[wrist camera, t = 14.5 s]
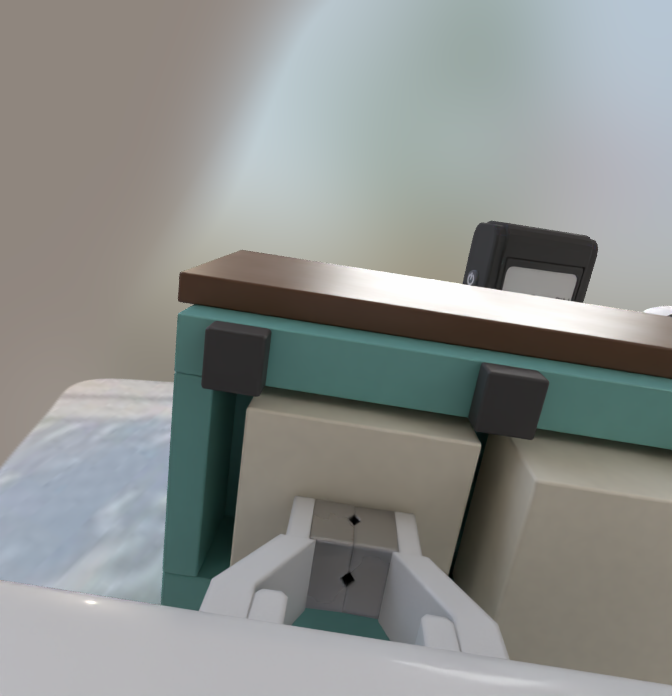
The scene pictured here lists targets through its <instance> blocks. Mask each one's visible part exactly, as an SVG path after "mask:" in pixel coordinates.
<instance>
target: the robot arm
mask: <svg viewBox="0 0 672 696" xmlns="http://www.w3.org/2000/svg"><path fill="white" fill-rule="evenodd" d="M314 505H315V506H314ZM313 511H314V513H313ZM312 518H313V519H312ZM311 525H312V526H311ZM305 608H310V609H318V610H326V611H334V612H342V613H347V614H353V615H358V616H363V617H369V618H374V619H378V622H379V623H380V625H381V627H382V628H383V630H384V631H385V633H386V635H387V636H388V638H389V640H390V641H387V640H380V639H374V638H368V637H361V636H355V635H349V634H342V633H336V632H329V631H323V630H317V629H310V628H304V627H298V626H291V625H292V624H293V623H294V621H295V620H296V619H297V618H298V617H299V616H300V615H301V614H302V613H303V612H304V610H305ZM0 696H672V685H667V684H661V683H655V682H648V681H642V680H636V679H629V678H623V677H617V676H610V675H604V674H598V673H591V672H585V671H578V670H572V669H566V668H559V667H553V666H546V665H540V664H534V663H527V662H521V661H515V660H510V659H509V656H508V653H507V650H506V647H505V644H504V641H503V638H502V635H501V632H500V629H499V626H498V624H497V623H496V622H495V621H494V620H493V619H492V618H491V617H490V616H489V615H488V614H487V613H486V612H485V611H484V610H483V609H482V608H481V607H480V606H479V605H478V604H477V603H475V602H474V601H473V600H472V599H471V598H470V597H469V596H468V595H467V594H466V593H465V592H464V591H463V590H462V589H461V588H460V587H459V586H458V585H457V584H456V583H455V582H454V581H453V580H452V579H451V578H449V577H448V576H447V575H446V574H445V573H444V572H443V571H442V570H441V569H440V568H439V567H438V566H437V565H436V564H435V563H434V562H433V561H432V560H431V559H430V558H429V557H425V556H422V550H421V545H420V540H419V535H418V529H417V524H416V519H415V515H414V514H413V513H405V512H396V511H387V510H379V509H372V508H364V507H356V506H354V505H348V504H343V503H337V502H331V501H326V500H320V499H316V501H315V499H314V498H309V497H302V496H295V498H294V501H293V506H292V510H291V514H290V519H289V523H288V528H287V532H286V535H284V534H280V535H278V536H276V537H275V538H273V539H272V540H270V541H269V542H267V543H266V544H264V545H263V546H261V547H260V548H258V549H257V550H255V551H254V552H252V553H251V554H249V555H248V556H246V557H244V558H243V559H241V560H240V561H238V562H237V563H235V564H234V565H232V566H231V567H229V568H228V569H226V570H225V571H223V572H222V573H220V574H219V575H217V576H215V577H214V578H212V580H211V582H210V585H209V587H208V590H207V592H206V595H205V597H204V600H203V602H202V604H201V607H200V609H199V611H196V610H189V609H183V608H176V607H170V606H164V605H157V604H151V603H145V602H138V601H132V600H125V599H119V598H113V597H106V596H100V595H94V594H87V593H81V592H74V591H68V590H62V589H55V588H49V587H43V586H36V585H30V584H23V583H17V582H11V581H4V580H0Z"/></svg>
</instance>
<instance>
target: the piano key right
mask: <svg viewBox="0 0 672 696" xmlns="http://www.w3.org/2000/svg"><path fill="white" fill-rule="evenodd" d="M452 574H453V578H454V582H455V583H456V584H457V585H458V586H459V587H460V588H461V589H462V590H463V591H464V592H465V593H466V594H467V595H468V596H469V597H470V598H471V599H472V600H473V601H474V602H475V603H477V604H478V605H479V606H480V607H481V608H482V609H483V610H484V611H485V612H486V613H487V614H488V615H489V616H490V617H491V618H492V619H493V620H494V621H495V622H496V623H497V624H498V626H499V629H500V632H501V635H502V638H503V641H504V644H505V647H506V650H507V653H508V656H509V659H510V660H515V661H521V662H527V663H534V664H540V665H546V666H553V667H559V668H566V669H572V670H578V671H585V672H591V673H598V674H604V675H610V676H617V677H623V678H629V679H636V680H642V681H648V682H655V683H661V684H667V685H672V450H671V449H664V448H658V447H651V446H645V445H639V444H632V443H626V442H620V441H613V440H607V439H600V438H594V437H588V436H581V435H575V434H569V433H562V432H556V431H550V430H543V429H536V432H535V436H534V439H533V440H527V439H520V438H514V437H508V436H501V435H495V434H488V438H487V442H486V446H485V449H484V453H483V457H482V461H481V465H480V469H479V473H478V476H477V480H476V484H475V488H474V492H473V496H472V500H471V503H470V507H469V511H468V515H467V519H466V523H465V527H464V530H463V534H462V538H461V542H460V546H459V550H458V554H457V558H456V561H455V565H454V569H453V573H452Z"/></svg>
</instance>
